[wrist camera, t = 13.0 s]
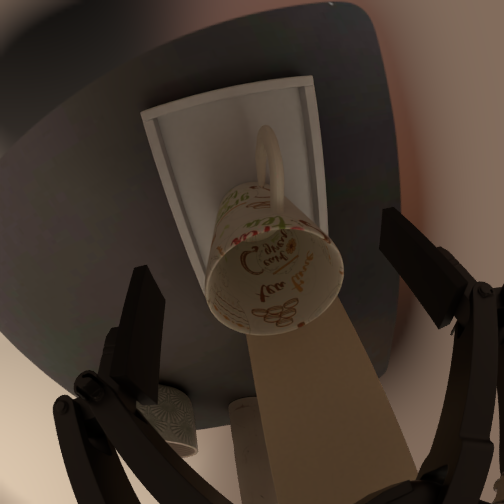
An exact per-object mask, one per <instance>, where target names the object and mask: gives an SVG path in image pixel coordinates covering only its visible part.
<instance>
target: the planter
mask: <svg viewBox="0 0 504 504" xmlns="http://www.w3.org/2000/svg"><path fill="white" fill-rule="evenodd" d="M136 408H137V409H138V410H139V411H140V412H141V413H142V414H143V416H144V417H145V418H146V419H147V421H148V422H149V423H150V424H151V425H152V426H153V428H154V429H155V430H156V431H157V432H158V433H159V434H160V436H161V437H162V438H163V439H164V440H165V441H166V442H167V443H168V444H169V445H170V446H171V448H172V449H173V450H174V451H175V452H176V453H177V454H178V455H179V456H180V457H181V458H185V457H190V456H193V455H195V454H197V452H198V446H197V438H196V427H195V418H194V411H193V406H192V403H191V401H190V399H189V397H188V396H187V395H186V394H185V393H183V392H182V391H180V390H178V389H176V388H173V387H170V386H166V385H160V384H159V386H158V405H146V406H143V405H141V404H140V403H139V402H138V401H136Z"/></svg>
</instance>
